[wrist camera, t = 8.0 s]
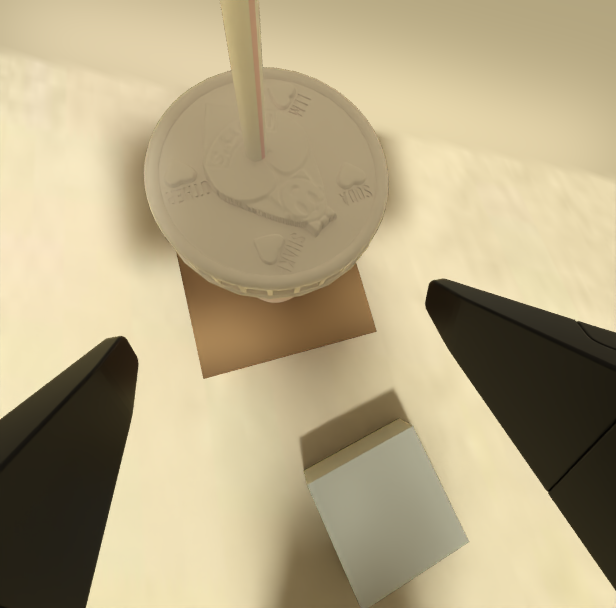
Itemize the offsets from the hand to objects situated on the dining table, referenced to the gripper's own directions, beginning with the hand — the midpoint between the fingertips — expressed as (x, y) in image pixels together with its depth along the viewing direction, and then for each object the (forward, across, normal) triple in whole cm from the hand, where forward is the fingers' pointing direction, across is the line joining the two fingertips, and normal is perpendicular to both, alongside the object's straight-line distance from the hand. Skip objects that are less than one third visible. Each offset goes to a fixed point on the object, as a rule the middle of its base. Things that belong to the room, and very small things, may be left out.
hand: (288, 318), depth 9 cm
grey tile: (0, -4, +16) cm, 16 cm away
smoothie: (+8, 0, +3) cm, 9 cm away
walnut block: (+10, 0, +5) cm, 12 cm away
